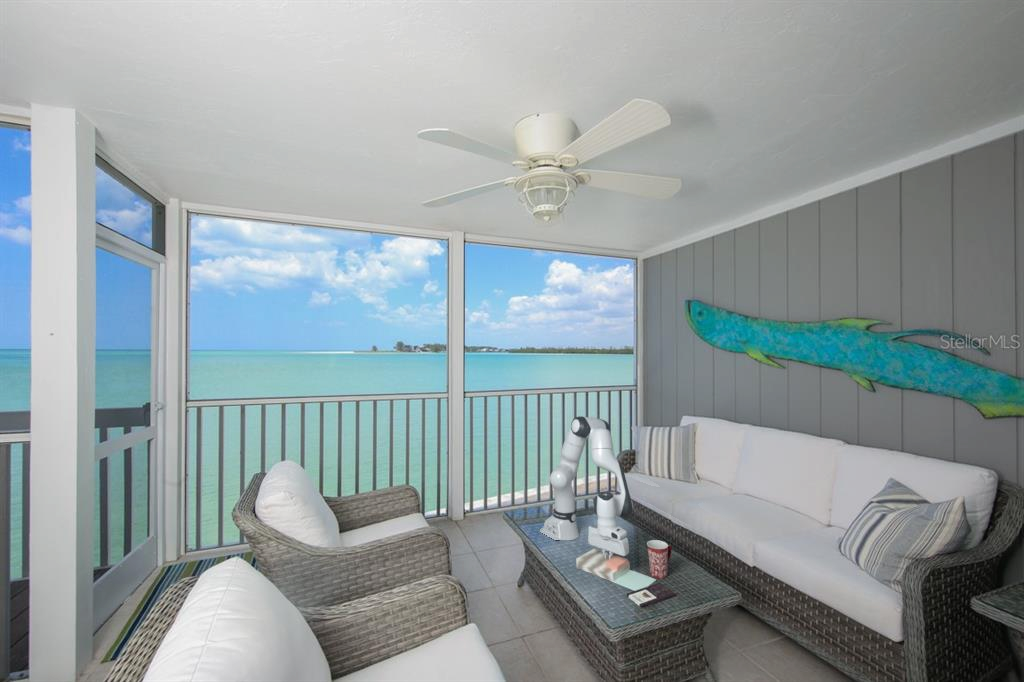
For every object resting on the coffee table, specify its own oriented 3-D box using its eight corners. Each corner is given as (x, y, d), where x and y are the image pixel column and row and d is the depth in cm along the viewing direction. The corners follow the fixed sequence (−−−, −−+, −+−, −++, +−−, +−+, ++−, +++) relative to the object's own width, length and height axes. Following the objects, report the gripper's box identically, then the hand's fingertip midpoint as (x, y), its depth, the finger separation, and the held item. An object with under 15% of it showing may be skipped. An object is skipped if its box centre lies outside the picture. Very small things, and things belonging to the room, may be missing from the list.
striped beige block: (576, 567, 205) (576, 558, 206) (593, 556, 215) (593, 548, 215) (613, 582, 191) (612, 573, 191) (629, 570, 201) (629, 561, 201)
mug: (658, 581, 191) (657, 550, 191) (643, 572, 199) (642, 542, 199) (679, 574, 196) (678, 543, 197) (664, 565, 204) (663, 536, 205)
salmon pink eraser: (605, 566, 197) (605, 562, 197) (616, 559, 203) (616, 555, 203) (617, 571, 193) (617, 566, 193) (628, 563, 199) (628, 559, 199)
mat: (611, 581, 192) (611, 580, 192) (628, 569, 202) (627, 568, 202) (640, 593, 182) (640, 592, 182) (656, 580, 192) (656, 579, 192)
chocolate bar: (675, 593, 179) (641, 605, 171) (675, 596, 179) (641, 608, 171) (659, 582, 187) (626, 593, 179) (659, 584, 187) (626, 595, 179)
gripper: (584, 525, 207) (586, 555, 206) (622, 537, 192) (624, 569, 192) (592, 521, 211) (593, 550, 211) (630, 532, 197) (631, 563, 196)
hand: (608, 559), depth 201 cm, fingers closed
